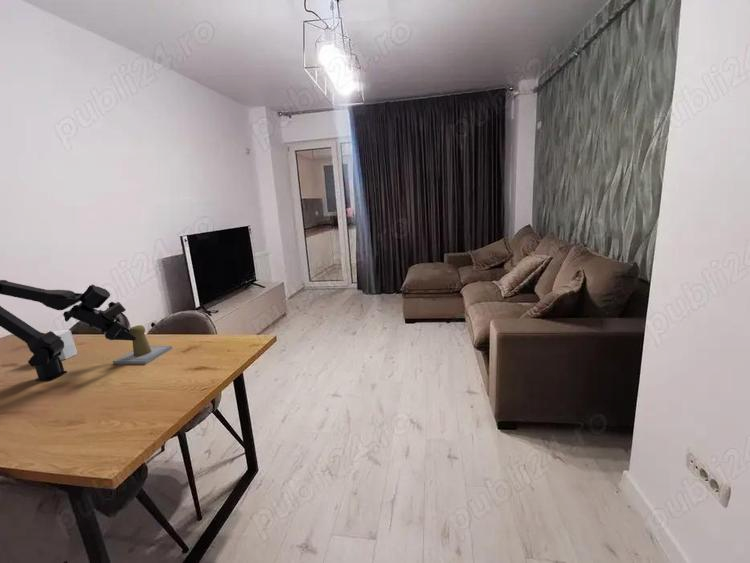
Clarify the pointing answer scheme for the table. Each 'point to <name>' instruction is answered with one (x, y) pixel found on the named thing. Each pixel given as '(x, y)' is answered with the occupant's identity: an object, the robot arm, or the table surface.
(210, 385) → the table surface
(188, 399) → the table surface
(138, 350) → the cork
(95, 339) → the table surface
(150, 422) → the table surface
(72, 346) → the small box
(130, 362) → the plate
